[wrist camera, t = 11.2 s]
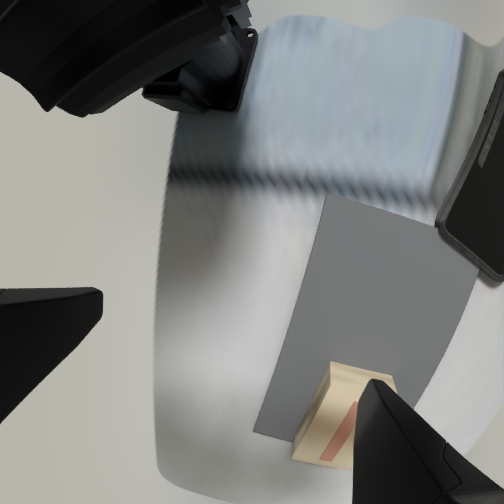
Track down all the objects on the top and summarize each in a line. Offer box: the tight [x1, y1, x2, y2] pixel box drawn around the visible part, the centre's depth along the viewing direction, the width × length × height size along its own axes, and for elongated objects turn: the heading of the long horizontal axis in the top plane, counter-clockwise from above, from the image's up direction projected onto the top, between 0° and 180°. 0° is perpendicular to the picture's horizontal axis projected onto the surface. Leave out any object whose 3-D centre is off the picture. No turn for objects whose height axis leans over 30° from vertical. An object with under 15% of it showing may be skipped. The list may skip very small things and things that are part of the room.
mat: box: [253, 194, 480, 442], centre depth 20 cm, size 20×12×1 cm, turn 167°
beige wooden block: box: [291, 361, 397, 470], centre depth 20 cm, size 8×5×3 cm, turn 166°
